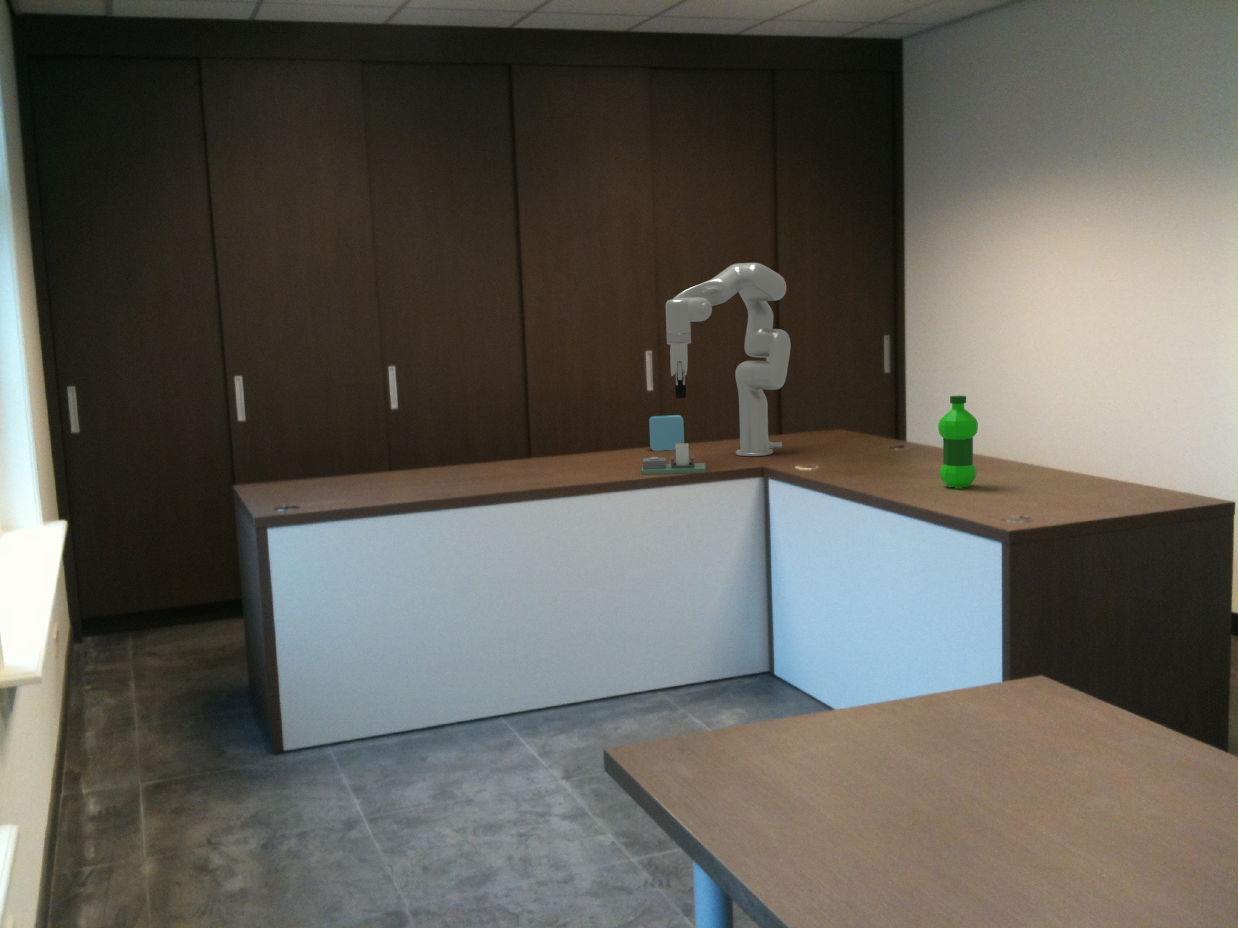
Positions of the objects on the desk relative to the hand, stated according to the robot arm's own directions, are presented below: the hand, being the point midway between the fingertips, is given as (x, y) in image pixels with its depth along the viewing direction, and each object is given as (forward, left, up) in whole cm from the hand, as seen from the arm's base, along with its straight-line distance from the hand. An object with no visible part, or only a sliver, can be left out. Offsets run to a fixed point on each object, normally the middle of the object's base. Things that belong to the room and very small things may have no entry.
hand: (681, 397), depth 382 cm
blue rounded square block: (+6, -49, -23) cm, 54 cm away
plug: (0, 0, -22) cm, 22 cm away
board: (+3, 0, -23) cm, 23 cm away
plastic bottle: (-76, +45, -23) cm, 91 cm away
